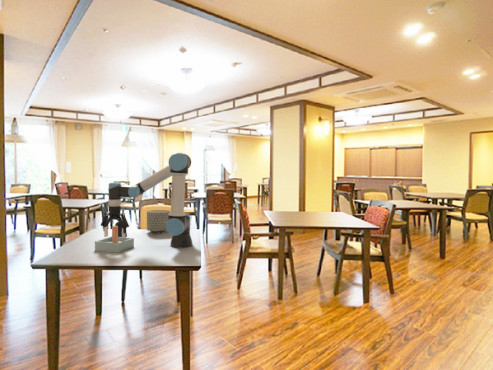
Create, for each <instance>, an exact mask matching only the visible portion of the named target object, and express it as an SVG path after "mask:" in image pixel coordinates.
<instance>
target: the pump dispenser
mask: <svg viewBox="0 0 493 370" xmlns="http://www.w3.org/2000/svg"><path fill="white" fill-rule="evenodd" d="M114 226H118V237H122V228H123V227H122V226H121V224H120V223H119V222H118V221H117V222H116V223H115V224H114ZM125 237H126V238H128V233H127V231H126V233H125Z"/></svg>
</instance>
